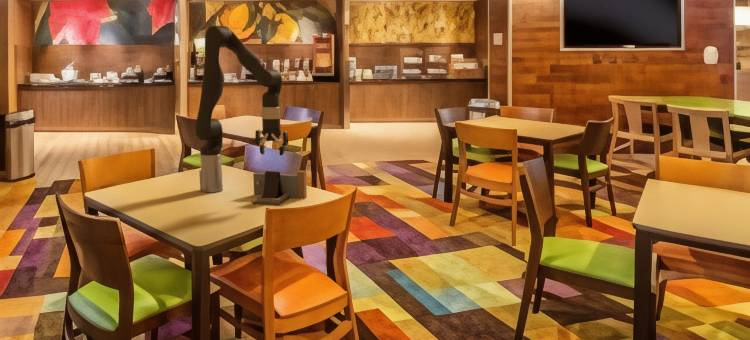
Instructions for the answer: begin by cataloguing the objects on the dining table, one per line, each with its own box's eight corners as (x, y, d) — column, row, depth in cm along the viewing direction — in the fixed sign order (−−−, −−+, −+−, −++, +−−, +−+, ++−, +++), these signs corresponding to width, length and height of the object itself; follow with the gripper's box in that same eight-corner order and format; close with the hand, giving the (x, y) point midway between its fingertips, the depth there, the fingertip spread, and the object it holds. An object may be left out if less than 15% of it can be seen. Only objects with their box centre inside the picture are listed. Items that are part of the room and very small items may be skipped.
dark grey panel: (253, 195, 278) (252, 169, 275) (256, 194, 281) (255, 168, 279) (303, 199, 272) (303, 172, 270) (306, 197, 276) (306, 170, 274)
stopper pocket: (252, 203, 264) (252, 199, 264) (265, 196, 278) (265, 191, 277) (279, 205, 262) (279, 200, 261) (290, 197, 275) (290, 193, 275)
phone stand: (275, 201, 266) (274, 174, 264) (262, 200, 267) (261, 173, 265) (283, 196, 275) (282, 169, 272) (270, 195, 276) (270, 169, 274)
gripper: (251, 117, 262) (253, 155, 265) (283, 118, 259) (284, 157, 262) (259, 115, 269) (260, 152, 272) (290, 116, 266) (290, 154, 269)
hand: (272, 154), depth 267 cm, fingers open, 8 cm apart
